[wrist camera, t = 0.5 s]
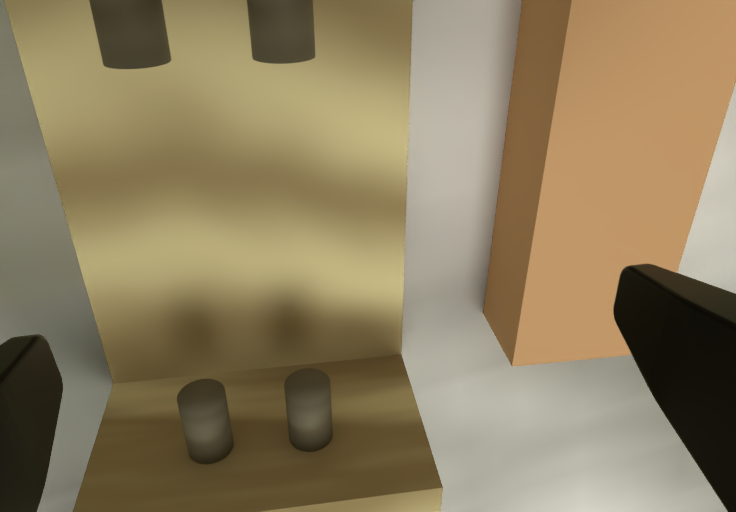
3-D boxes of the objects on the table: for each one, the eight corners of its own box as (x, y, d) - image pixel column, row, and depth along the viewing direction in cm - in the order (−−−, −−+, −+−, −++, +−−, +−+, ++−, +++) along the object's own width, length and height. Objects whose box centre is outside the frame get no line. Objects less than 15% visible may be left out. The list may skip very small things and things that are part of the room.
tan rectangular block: (604, 298, 28) (652, 352, 25) (480, 309, 27) (512, 366, 24) (685, -34, 21) (767, -23, 18) (522, -33, 20) (575, -21, 17)
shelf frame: (396, 361, 27) (440, 511, 21) (124, 389, 26) (74, 560, 19) (408, -108, 18) (496, -119, 11) (-13, -108, 17) (-204, -121, 10)
